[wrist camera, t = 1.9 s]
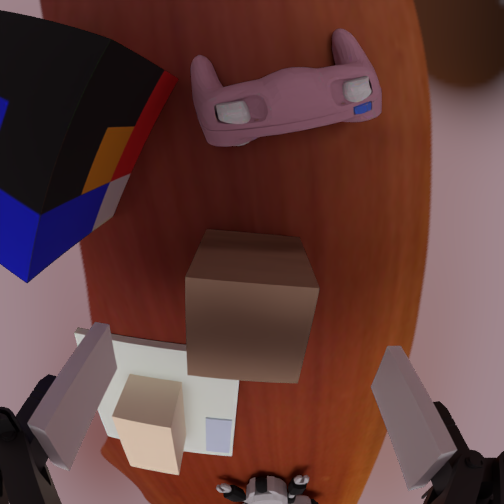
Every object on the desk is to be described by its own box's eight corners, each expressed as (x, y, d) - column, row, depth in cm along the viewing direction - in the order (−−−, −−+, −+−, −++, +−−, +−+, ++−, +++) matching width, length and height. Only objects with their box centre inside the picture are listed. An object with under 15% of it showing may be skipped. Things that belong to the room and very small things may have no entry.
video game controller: (207, 118, 19) (205, 177, 15) (185, 55, 16) (172, 90, 11) (353, 88, 18) (403, 136, 14) (346, 24, 15) (404, 49, 10)
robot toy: (212, 467, 33) (244, 512, 37) (208, 495, 29) (243, 534, 33) (309, 455, 32) (322, 502, 36) (313, 484, 27) (325, 524, 32)
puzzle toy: (113, 216, 20) (27, 283, 11) (14, 159, 18) (-83, 190, 9) (178, 79, 17) (111, 39, 8) (63, 35, 15) (-33, 5, 6)
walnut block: (206, 228, 20) (185, 277, 14) (299, 236, 21) (319, 288, 14) (203, 308, 23) (187, 375, 16) (286, 315, 23) (297, 383, 16)
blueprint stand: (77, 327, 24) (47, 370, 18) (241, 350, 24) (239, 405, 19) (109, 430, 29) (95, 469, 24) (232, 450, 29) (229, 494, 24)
